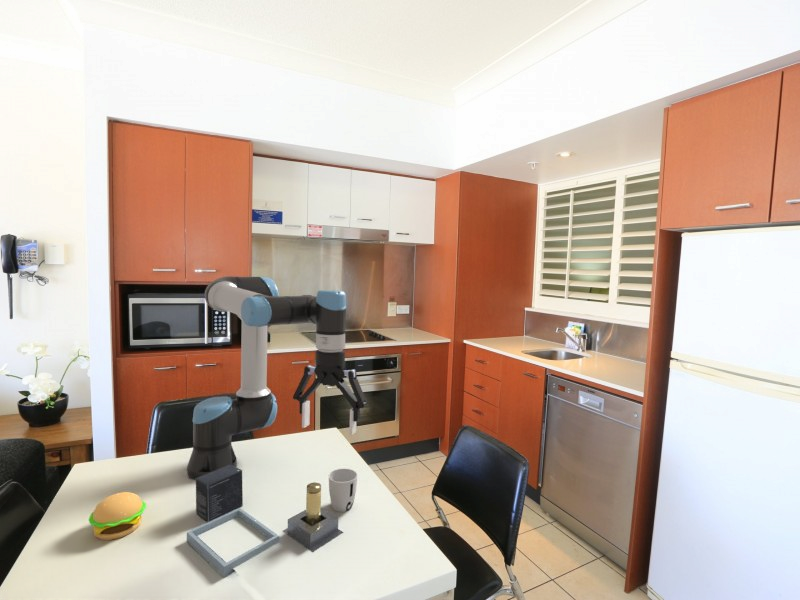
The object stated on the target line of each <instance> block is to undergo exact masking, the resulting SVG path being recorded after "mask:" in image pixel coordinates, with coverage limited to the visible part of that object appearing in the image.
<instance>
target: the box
mask: <svg viewBox="0 0 800 600" xmlns="http://www.w3.org/2000/svg"><path fill="white" fill-rule="evenodd" d="M243 499H244V497H243V469H241V468H238V467H235V466H232V465H228V466H225V467H223V468H220V469H218V470H215V471H213V472H210V473H208V474H205V475H203V476H200V477H198V478H196V480H195V500H196V501H195V513H196V516H197V517H199V518H200V519H202V520H204V521H205V522H206V523H208V522H210V521H212V520H214V519H216V518H219V517H221V516H223V515H225V514H227V513H230V512H232V511H234V510H236V509H238V508H241V507H242V506H243V505H244V503H243V501H244V500H243Z"/></svg>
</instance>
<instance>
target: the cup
mask: <svg viewBox="0 0 800 600" xmlns="http://www.w3.org/2000/svg"><path fill="white" fill-rule="evenodd" d="M357 485H358V472H357V471H356V470H354V469H351V468H337V469H334V470H332V471H330V472H329V474H328V491H329V492H328V493H329V497H330V504H331V507H332V510H334V511H336V512H341V513H342V512H343V513H344V512H348V511H349V510H351V509H353V505H354V503H355V497H356V493H357Z"/></svg>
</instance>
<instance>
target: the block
mask: <svg viewBox="0 0 800 600" xmlns="http://www.w3.org/2000/svg"><path fill="white" fill-rule="evenodd" d="M282 533H284V534H286V535H287V536H288V537H290V538H292V539H293V540H294V541H295V542H296V543H298V544H300V545H301V546H302V547H304V548H305V549H307V550H308V551H309V552H312V553H314V552H316V551H317V550H318V549H320V548H322V547H323V546H325V545H326V544H328V543H329V542H331V541H333V540H334V539H336V538H337V537H339V536H341V535H343V534H344V531H343V530H341V529H339V517H338V516H337V515H335V514H333V513H331V512H330V511H328V510H326V509H324V508H323V507H321V517H320V522H319V523H317V524H316V525H314V526H310V525H309V524H307V523H306V509H304V510H302V511H300V512H299V513H297V514H295V515H292V516H291V517H290V518H288V519H287V527H286V528H285V529H284V530H282Z"/></svg>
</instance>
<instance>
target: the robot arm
mask: <svg viewBox="0 0 800 600" xmlns="http://www.w3.org/2000/svg"><path fill="white" fill-rule="evenodd" d="M204 299H205V302H206V304H207V305H208V306H209V307H210V308H211V309H213V310H214V311H217V312H222V313H223V312H228V313H229V312H230V313H232V314H235V315H236V316H237V317H238V318H239V319H240V320H241V335H240V336H241V346H240V347H241V349H240V357H241V358H240V362H241V363H240V388H239V389H238V390H237V391H236V392H235V399H232V398H231V397H230V396H227V395H225V396H224V395H223V396H214V397H213V396H212V397H210V398H207V399H204V400H201V401H200V402H198V403H197V404H196V405H195V407H194V409H193V412H192V413H193V415H192V416H193V417H192V451H191V454H190V456H189V457H190V458H189V460H188V462H187V465H186V474H187V477H188V478H190V479H192V480H195V481H196V478H198V477H200V476H203V475H205V474H208V473H210V472H213V471H215V470H218V469H220V468H223V467H225V466H228V465H232V466H235V467H237V466H238V461H237V455H236V453H235V451H234V448H233V445H232V436H235V435H239V434H243V433H248V432H252V431H256V430H257V431H258V430H262V429H264V428H268V427H270V426H272V424H273V423H275V420H276V417H277V413H278V403H277V399H276V396H275V395H274V394H273V393H272V391H271V389H270V388H269V387H267V386H268V385H267V383H268V382H267V380H268V379H267V375H268V373H267V372H268V370H267V369H268V326H279V325H280V326H282V325H284V326H285V325H300V324H311V325H312V324H315V327H316V329H315V330H316V331H315V348H316V351H315V366H313V364H309V365H307V366H305V367H304V368H303V369H304V370H303V375H302V377H301V379H300V381H299V383H298V385H297V387H296V389H295V391H294V393H293V394H292V395H293V396H292V400H296V401H298V403H299V414H300V415H301V428H303V429H304V428H307V427H308V426H309V425H310V419H311V417H310V414H311V413H310V411H311V400H309V398H310V397H311V396H312V395H313V394H314V392H315V391H316V390H317V389H318V387H319V386H321V385H322V386H331V387H336V388H337V389H338V390H339V391H340V392H341V393H342V395H343V396H344V398H345V399H346V400H347V402H348V403H349V405H350V406H351V408H350V409H349V431H348V432H349V434H348V435H349V436H353V435H354V434H356V432H357V422H358V421H359V420H360V418H361V409H364V408H365V407H366V406H367V405H368V401H367V399H366V396H365V394H364V391H363V389H362V387H361V385H360V382H359V379H358V377H357V370H356V369H355V368H353V369H348V370H347V369H346V368H345V364H346V351H345V348H346V323H347V321H346V320H347V306H348V305H347V295H346V292H344V290H339V289H338V290H335V289H334V290H333V289H321V290H318V291H317V293H316V296H315V295H312V294H302V295H288V296H287V295H284V296H282V295H281V296H280V293H279V289H278V286H277V285H276V282H275V281H274V280H273V279H272V278H270V277H264V276H232V275H231V276H229V275H228V276H222V277H219V278H216V279H214V280H213V281H211V282H210V283H209V284H208V285H207V286H206V287H205V290H204ZM313 374H315V376H316V378H315V380H314V381H313V382H312V384H311V385H310V386H309V387H308V388H307V389H306V387H307V385H308V383H309V381H310V379H311V377H312V376H313ZM344 377H346V379H348V382H349V384H350V387H351V388H350V387H349V385H348V384H347V383H348V382H347V381H346V380H345V378H344ZM305 390H306V391H305ZM237 468H238V467H237Z"/></svg>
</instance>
